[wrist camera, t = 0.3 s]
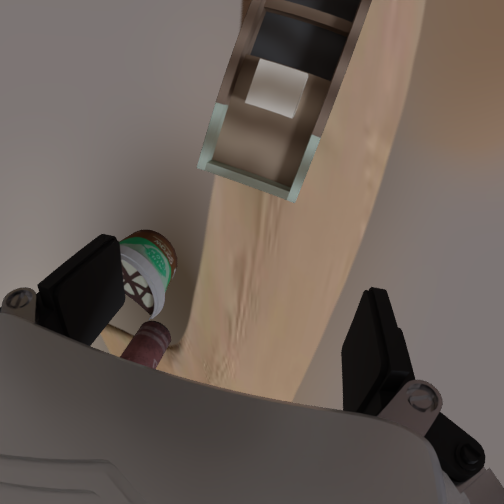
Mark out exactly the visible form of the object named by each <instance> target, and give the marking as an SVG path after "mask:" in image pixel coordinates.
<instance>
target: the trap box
mask: <svg viewBox="0 0 504 504" xmlns="http://www.w3.org/2000/svg"><path fill="white" fill-rule="evenodd" d="M371 1H372V0H252V1H251V4H250V6H249V9H248V11H247V14H246V17H245V19H244V22H243V25H242V27H241V30H240V33H239V35H238V38H237V41H236V44H235V47H234V49H233V52H232V55H231V58H230V61H229V64H228V67H227V69H226V73H225V75H224V78H223V82H222V85H221V88H220V91H219V94H218V97H217V100H216V103H215V107H214V110H213V113H212V117H211V120H210V123H209V126H208V130H207V133H206V137H205V140H204V144H203V147H202V151H201V154H200V158H199V161H198V165H197V168H199V169H202V170H205V171H208V172H211V173H214V174H216V175H219V176H222V177H225V178H228V179H231V180H234V181H236V182H239V183H242V184H245V185H248V186H250V187H253V188H256V189H259V190H261V191H264V192H267V193H269V194H272V195H275V196H277V197H280V198H283V199H285V200H288V201H291V202H293V203H295V202H296V199H297V197H298V194H299V192H300V189H301V187H302V184H303V182H304V179H305V177H306V174H307V171H308V169H309V166H310V164H311V161H312V159H313V156H314V154H315V151H316V149H317V146H318V143H319V141H320V138H321V136H322V133H323V131H324V128H325V125H326V123H327V120H328V118H329V115H330V112H331V110H332V107H333V105H334V102H335V99H336V97H337V94H338V91H339V89H340V86H341V83H342V81H343V78H344V75H345V73H346V70H347V67H348V65H349V62H350V59H351V57H352V54H353V51H354V48H355V46H356V43H357V40H358V37H359V35H360V32H361V29H362V26H363V24H364V21H365V18H366V15H367V12H368V10H369V7H370V4H371ZM260 59H263V60H267V61H270V62H274V63H277V64H280V65H283V66H286V67H289V68H293V69H296V70H298V71H301V72H304V73H307V74H308V80H307V83H306V85H305V88H304V91H303V93H302V96H301V99H300V102H299V104H298V107H297V110H296V112H295V115H294V117H293V118H289V117H286V116H284V115H281V114H278V113H275V112H272V111H269V110H266V109H263V108H260V107H257V106H254V105H251V104H247V103H245V101H246V98H247V95H248V92H249V89H250V86H251V83H252V80H253V77H254V74H255V72H256V69H257V66H258V63H259V60H260Z"/></svg>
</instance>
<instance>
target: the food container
mask: <svg viewBox="0 0 504 504" xmlns="http://www.w3.org/2000/svg"><path fill="white" fill-rule="evenodd" d="M119 243H120V252H121V263H122V273H123V282H124V290H125V294H126V295H128V296H129V297H130V298H132V299H133V300H134V301H135V302H137V303H138V304H139V305H140V306H141V307H142V308H144V309H145V310H146V311H147V312H148V313H149V314H150V315H151V316H150V318H152V319H153V318H154V317H155V316H156V315H158V313H159V312H160V311H161V309H162V308H163V305H164V300H165V291H166V289H167V288H168V286H169V284H170V282H171V280H172V278H173V276H174V274H175V271H176V268H177V256H176V253H175V250H174V248H173V246H172V245H171V243H170V242H169V241H168V240H167V239H166V238H165V237H164V236H163V235H161V234H159V233H157V232H155V231H152V230H140V231H137V232H135V233H133V234H131V235H130V236H128V237H126V238H125V239H123V240H121V241H120V242H119ZM150 318H149V320H150Z"/></svg>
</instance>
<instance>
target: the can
mask: <svg viewBox="0 0 504 504" xmlns="http://www.w3.org/2000/svg"><path fill="white" fill-rule="evenodd" d="M170 342H171V336H170V333H169V331H168V329H167V328H166V327H165V326H164V325H162V324H161V323H159V322H156V321H148V322H145V323H143V324H142V326H141V327H140V329H139V330H138V331H137V333H136V334H135V336H134V337H133V339H132V340H131V342H130V343H129V345H128V346H127V348H126V349H125V351H124V352H123V353H122V355H121V356H120V358H123V359H126V360H129V361H132V362H135V363H138V364H141V365H144V366H147V367H150V368H153V369H156V367H157V365H158V363H159V362H160V360H161V358H162V356H163V354H164V353H165V351H166V349H167V347H168V345H169V343H170Z"/></svg>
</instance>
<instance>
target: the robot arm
mask: <svg viewBox="0 0 504 504" xmlns="http://www.w3.org/2000/svg"><path fill="white" fill-rule="evenodd" d="M38 289H39V292H38V293H37V294H36V292H35V291H34V290H33V289H31V288H26V287H25V288H18V289H15V290H13V291H11V292H10V293H8V294H7V295H6V296H5V298H4V300H3V302H2V307H0V504H504V488H503V486H502V485H501V483H500V482H499V480H498V479H497V478H496V476H495V475H494V473H493V472H492V470H491V469H490V468H489V469H487V470H486V469H485V468H484V463H485V454H484V450H483V448H482V446H481V445H480V444H479V443H478V442H477V441H476V440H475V439H474V438H472V437H471V436H470V435H468V434H467V433H466V432H465V431H463V430H462V429H461V428H460V427H458V426H457V425H456V424H455V423H453V422H452V421H451V420H449V419H448V418H447V417H446V416H445V415H443V414H442V413H441V412H440V410H441V408H442V405H443V402H442V397H441V394H440V393H439V391H438V390H437V389H436V388H435V387H434V386H433V385H432V384H430V383H428V382H426V381H423V380H415V376H414V372H413V368H412V365H411V361H410V357H409V353H408V350H407V346H406V342H405V339H404V336H403V332H402V330H401V329H400V328H398V327H397V323H396V320H395V316H394V313H393V310H392V306H391V303H390V300H389V297H388V294H387V291H386V290H385V289H379V288H374V287H371V288H370V289H369V291H368V290H365V291H364V292H363V295H362V298H361V300H360V303H359V306H358V308H357V311H356V313H355V316H354V319H353V321H352V324H351V326H350V329H349V331H348V334H347V336H346V339H345V341H344V343H343V346H342V352H341V356H342V376H343V377H342V379H343V411H342V410H337V409H330V408H323V407H316V406H310V405H303V404H298V403H293V402H287V401H282V400H276V399H271V398H266V397H261V396H256V395H251V394H246V393H242V392H237V391H233V390H229V389H225V388H221V387H217V386H213V385H209V384H205V383H201V382H197V381H194V380H190V379H186V378H183V377H179V376H176V375H172V374H169V373H166V372H163V371H159V370H156V369H153V368H150V367H147V366H144V365H141V364H138V363H135V362H132V361H129V360H126V359H123V358H120V357H117V356H115V355H112V354H109V353H106V352H104V351H101V350H98V349H95V348H93V347H91V346H90V345H91V344H92V343H93V342H94V340H95V339H96V338H97V337H98V335H99V334H100V333H101V332H102V330H103V329H104V328H105V327H106V325H107V324H108V323H109V321H110V320H111V319H112V318H113V317H114V316H115V314H116V313H117V312H118V311H119V309H120V308H121V307H122V306H123V304H124V302H125V290H124V282H123V273H122V263H121V252H120V243H119V241H117V239H116V237H115V236H110V235H105V234H101V235H99V236H98V237H97V238H95V239H94V240H93V241H91V242H90V243H89V244H87V245H86V246H85V247H84V248H82V249H81V250H80V251H78V252H77V253H76V254H75V255H74V256H72V257H71V258H70V259H68V260H67V261H66V262H65V263H63V264H62V265H61V266H60V267H58V268H57V269H56V270H55V271H53V272H52V273H51V274H50V275H49V276H47V277H46V278H45V279H44V280H43V281H41V282H40V283H39V284H38Z"/></svg>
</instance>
